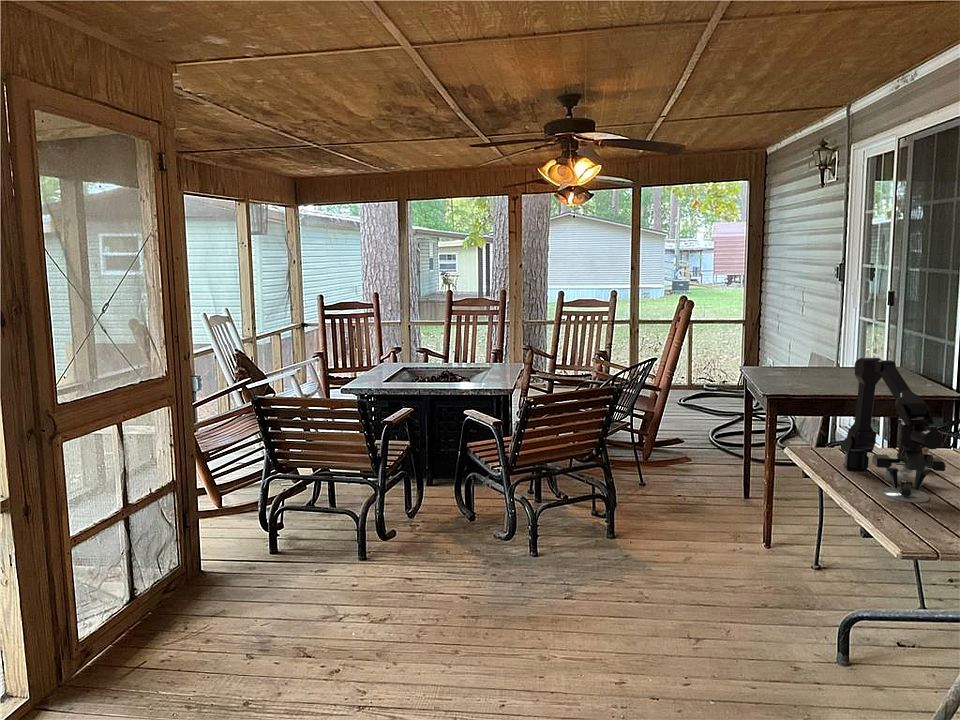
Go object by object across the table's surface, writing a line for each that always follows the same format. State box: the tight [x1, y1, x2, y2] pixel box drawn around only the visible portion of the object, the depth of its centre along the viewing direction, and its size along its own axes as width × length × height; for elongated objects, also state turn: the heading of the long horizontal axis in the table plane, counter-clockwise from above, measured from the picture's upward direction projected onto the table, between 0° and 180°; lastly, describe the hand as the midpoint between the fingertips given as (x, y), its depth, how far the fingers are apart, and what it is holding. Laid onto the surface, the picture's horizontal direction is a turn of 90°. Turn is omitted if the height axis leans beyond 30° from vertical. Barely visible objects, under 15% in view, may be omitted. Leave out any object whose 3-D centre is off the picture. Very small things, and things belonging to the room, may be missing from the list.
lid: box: [881, 480, 930, 504], centre depth 216 cm, size 12×12×5 cm
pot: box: [884, 455, 925, 488], centre depth 229 cm, size 17×11×7 cm, turn 75°
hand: (905, 489), depth 216 cm, fingers open, 5 cm apart
